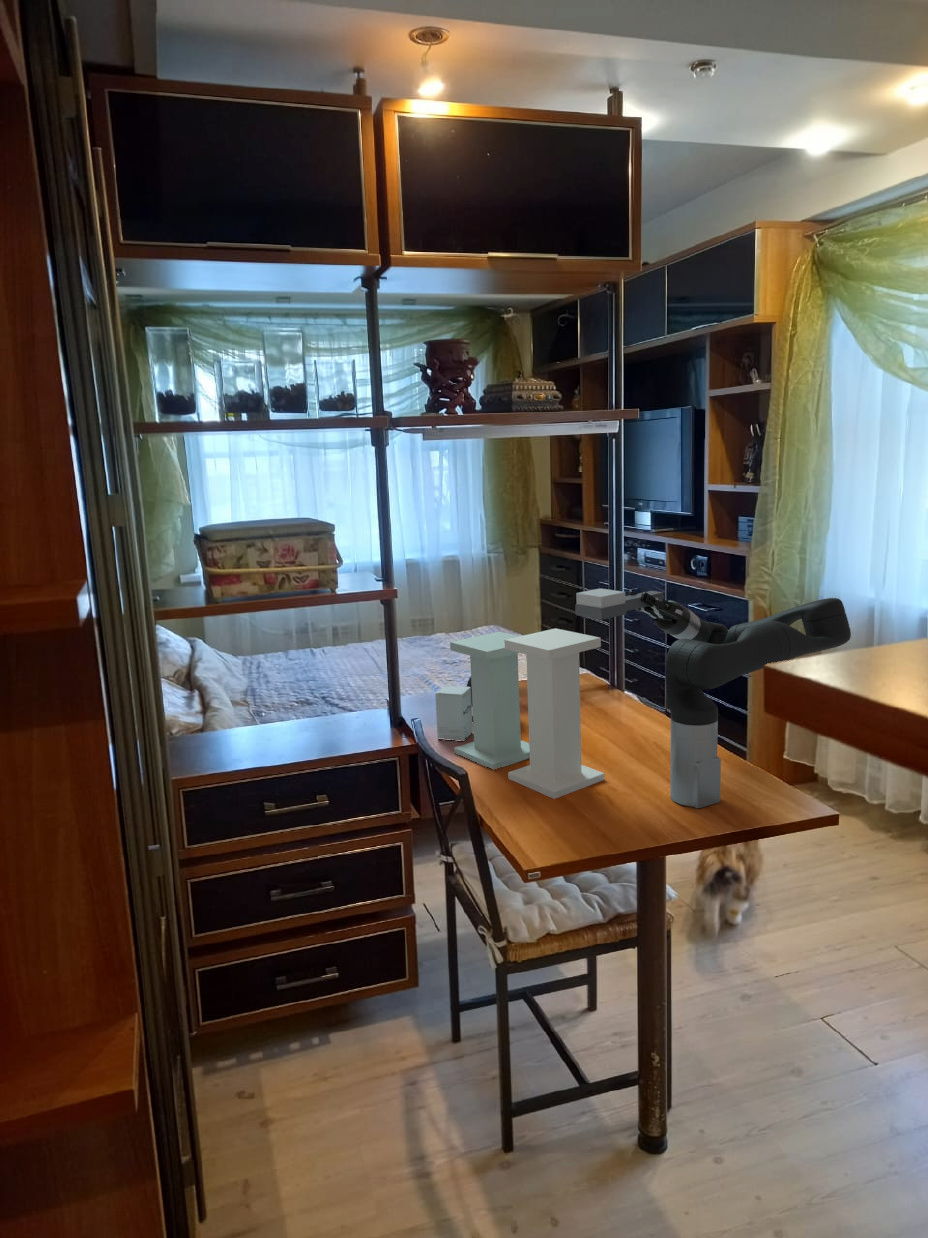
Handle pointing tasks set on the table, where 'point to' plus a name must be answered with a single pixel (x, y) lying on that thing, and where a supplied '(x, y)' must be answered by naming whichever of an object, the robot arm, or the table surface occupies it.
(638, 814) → the table surface
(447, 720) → the supplement box
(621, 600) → the block
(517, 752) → the low pedestal
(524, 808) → the table surface
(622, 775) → the table surface
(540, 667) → the tall pedestal
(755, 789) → the table surface
